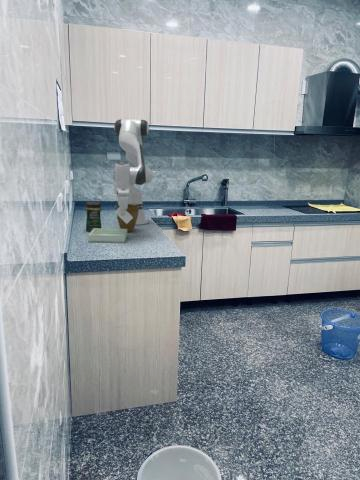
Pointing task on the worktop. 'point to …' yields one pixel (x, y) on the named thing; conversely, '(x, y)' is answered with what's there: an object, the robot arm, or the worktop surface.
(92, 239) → the tray
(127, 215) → the cup post
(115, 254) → the worktop surface
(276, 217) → the worktop surface
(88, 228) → the coffee jar
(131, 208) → the plant pot
